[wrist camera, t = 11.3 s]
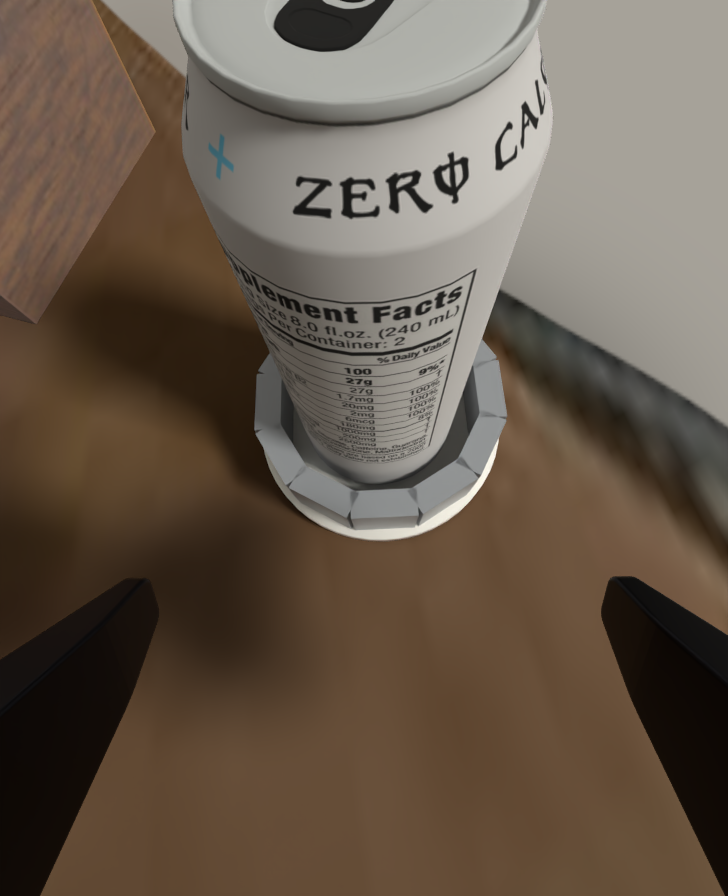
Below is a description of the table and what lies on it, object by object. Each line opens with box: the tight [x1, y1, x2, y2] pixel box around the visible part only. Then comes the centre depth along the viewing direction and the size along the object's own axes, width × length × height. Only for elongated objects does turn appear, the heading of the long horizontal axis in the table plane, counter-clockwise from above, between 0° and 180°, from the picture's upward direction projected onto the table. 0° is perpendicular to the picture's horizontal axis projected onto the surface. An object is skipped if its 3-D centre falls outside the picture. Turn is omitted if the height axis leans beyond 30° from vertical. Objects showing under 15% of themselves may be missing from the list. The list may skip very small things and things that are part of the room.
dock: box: [254, 339, 507, 542], centre depth 19 cm, size 10×10×3 cm
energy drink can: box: [173, 0, 553, 484], centre depth 13 cm, size 6×6×15 cm
